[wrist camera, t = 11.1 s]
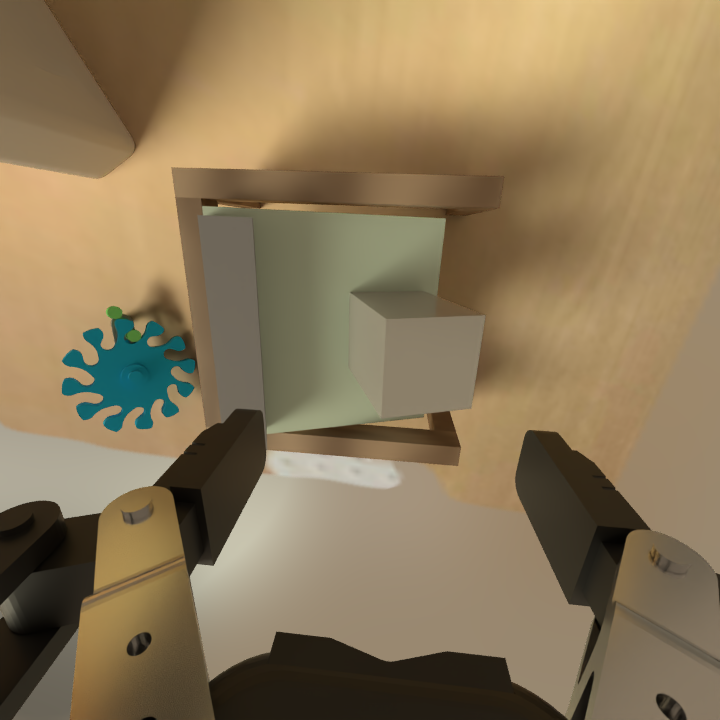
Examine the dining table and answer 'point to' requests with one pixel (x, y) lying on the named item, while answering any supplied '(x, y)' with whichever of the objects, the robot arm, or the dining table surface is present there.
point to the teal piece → (128, 372)
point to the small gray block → (413, 351)
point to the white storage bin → (53, 99)
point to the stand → (323, 189)
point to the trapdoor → (303, 305)
